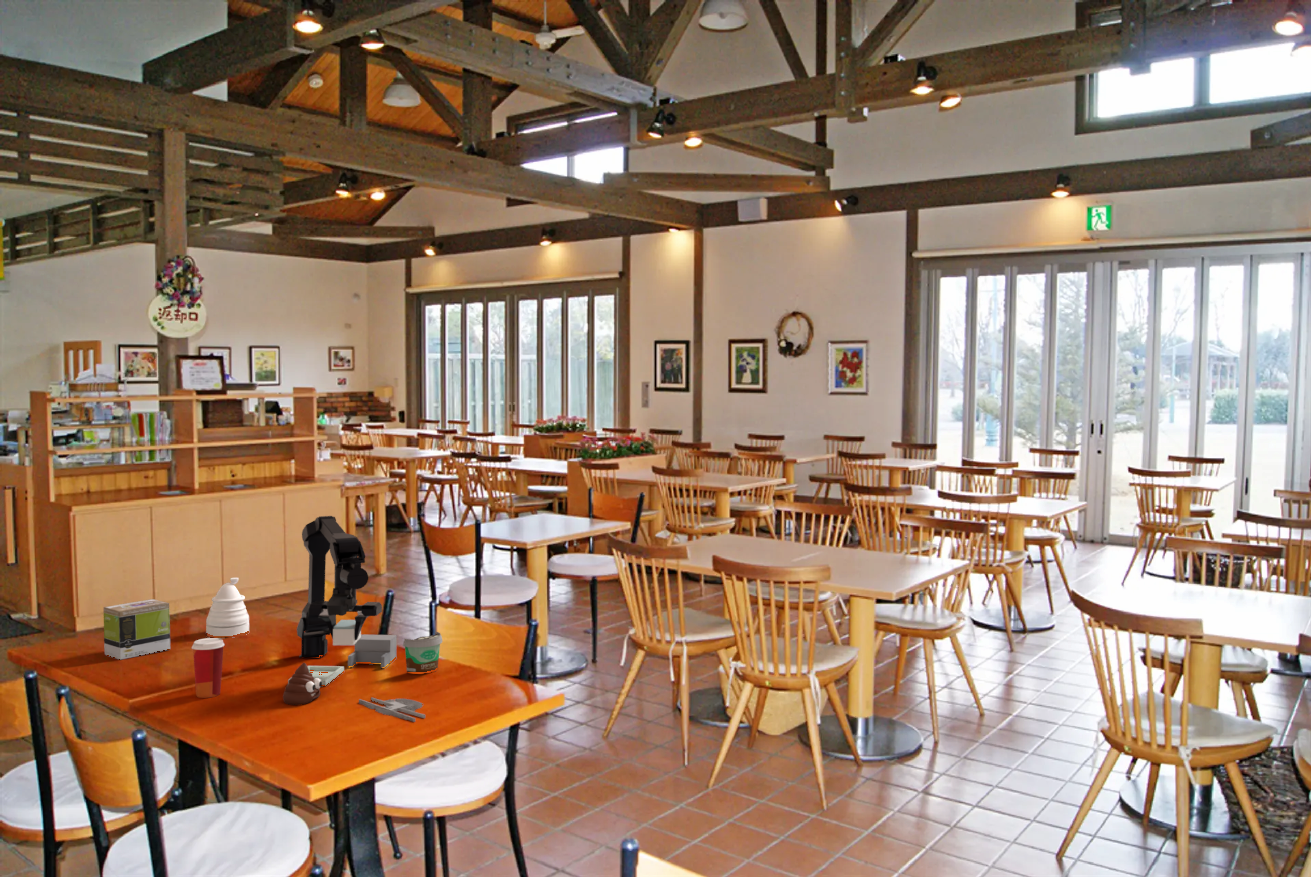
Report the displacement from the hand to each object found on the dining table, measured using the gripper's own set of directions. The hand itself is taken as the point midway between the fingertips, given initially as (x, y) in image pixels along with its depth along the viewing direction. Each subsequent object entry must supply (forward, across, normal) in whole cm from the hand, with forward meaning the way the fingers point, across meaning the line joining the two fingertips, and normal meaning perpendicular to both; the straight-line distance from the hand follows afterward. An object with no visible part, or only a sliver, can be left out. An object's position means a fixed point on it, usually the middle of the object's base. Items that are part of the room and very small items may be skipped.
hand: (345, 639), depth 262 cm
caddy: (+1, 0, +2) cm, 3 cm away
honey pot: (+11, -55, +49) cm, 74 cm away
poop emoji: (+11, -4, -19) cm, 23 cm away
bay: (+11, +3, +16) cm, 20 cm away
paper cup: (+11, -30, -17) cm, 36 cm away
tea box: (+11, -70, +23) cm, 75 cm away
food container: (+11, +21, +9) cm, 25 cm away
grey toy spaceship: (+11, +21, -25) cm, 35 cm away
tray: (+11, -8, 0) cm, 13 cm away
